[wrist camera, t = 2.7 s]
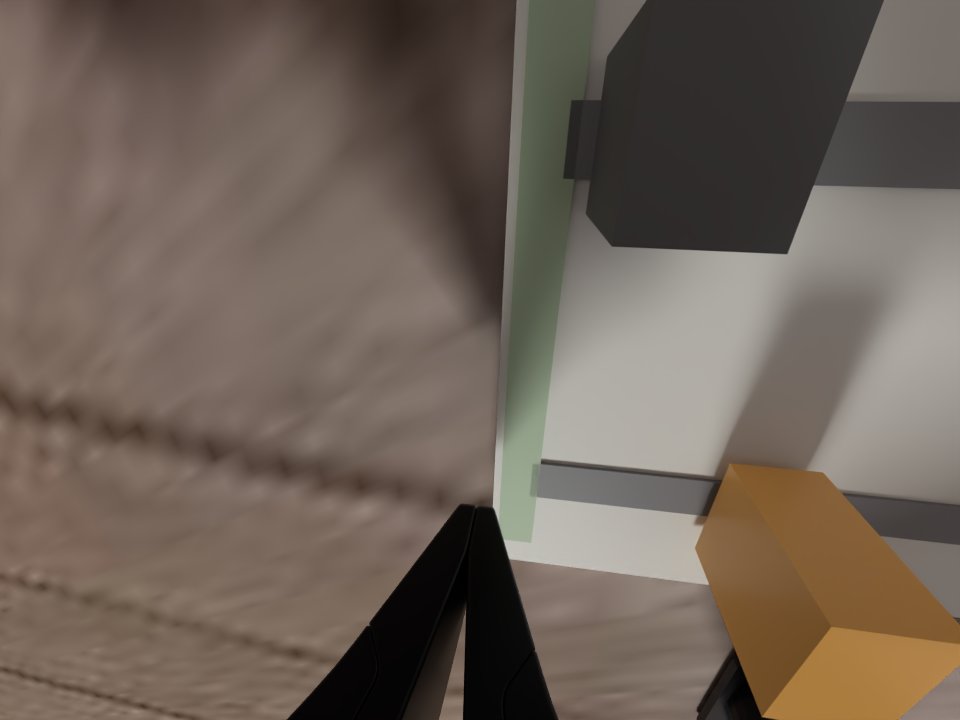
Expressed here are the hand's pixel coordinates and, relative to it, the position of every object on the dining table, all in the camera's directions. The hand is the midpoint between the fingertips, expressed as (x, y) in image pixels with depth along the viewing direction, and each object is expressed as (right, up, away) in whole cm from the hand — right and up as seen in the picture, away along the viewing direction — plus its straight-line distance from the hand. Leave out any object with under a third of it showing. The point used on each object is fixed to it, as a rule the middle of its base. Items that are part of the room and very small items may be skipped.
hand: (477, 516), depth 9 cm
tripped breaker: (+7, 0, 0) cm, 7 cm away
